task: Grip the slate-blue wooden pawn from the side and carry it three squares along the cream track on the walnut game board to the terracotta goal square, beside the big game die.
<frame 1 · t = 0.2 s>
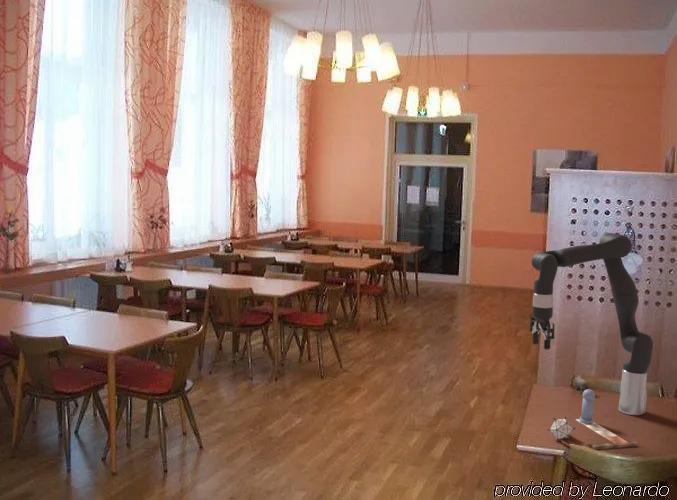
hand: (541, 346, 279), 28 cm above the table, tool pointing down, fingers open, 8 cm apart
rhino figurine: (579, 390, 320), on the table
game die: (560, 440, 261), on the table
game board: (593, 433, 268), on the table
pawn: (586, 421, 278), point 1 cm above the table, touching game board
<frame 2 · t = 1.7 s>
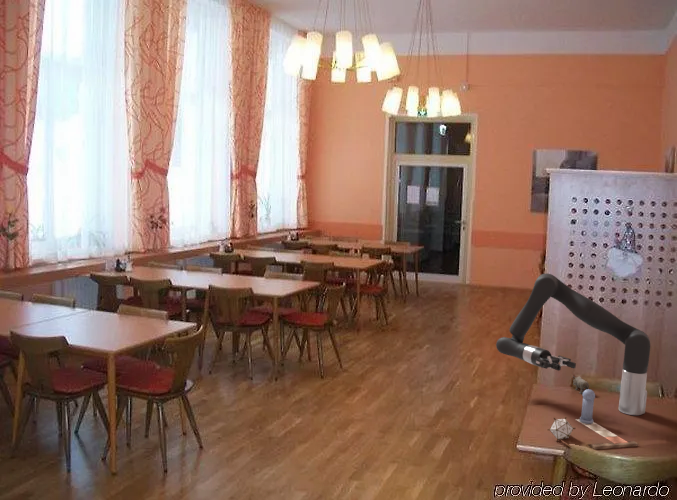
hand: (567, 367, 285), 20 cm above the table, tool horizontal, fingers open, 8 cm apart
nothing on the table moved.
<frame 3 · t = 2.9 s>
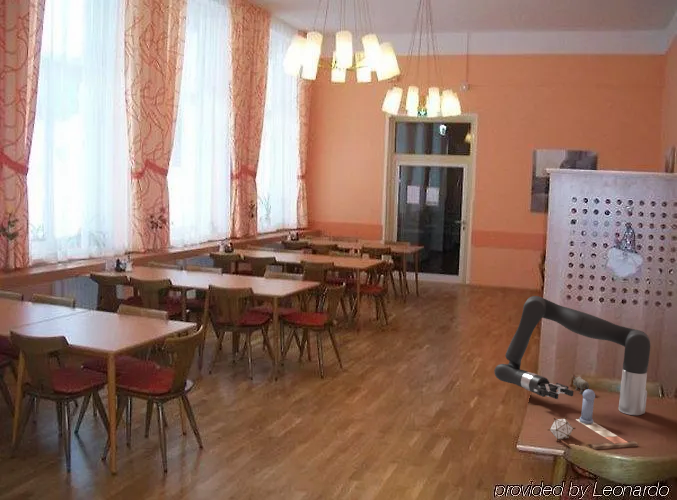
hand: (565, 395, 286), 8 cm above the table, tool horizontal, fingers open, 8 cm apart
nothing on the table moved.
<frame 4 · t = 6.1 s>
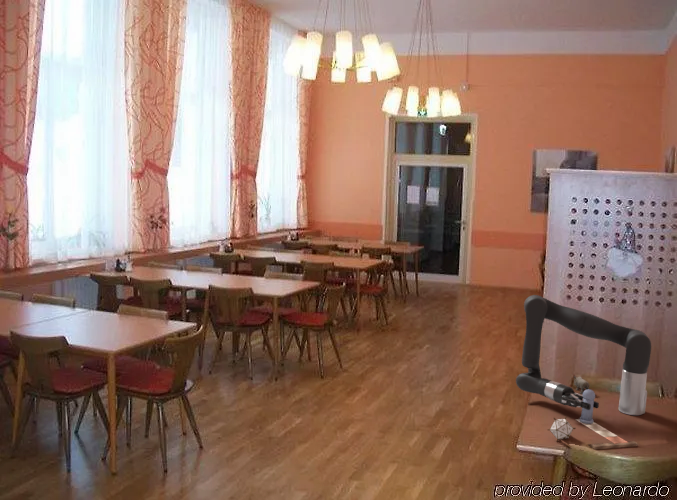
hand: (593, 406, 274), 8 cm above the table, tool horizontal, fingers closed on pawn, 4 cm apart
pawn: (586, 421, 278), point 1 cm above the table, touching game board, gripper
everything else where it was.
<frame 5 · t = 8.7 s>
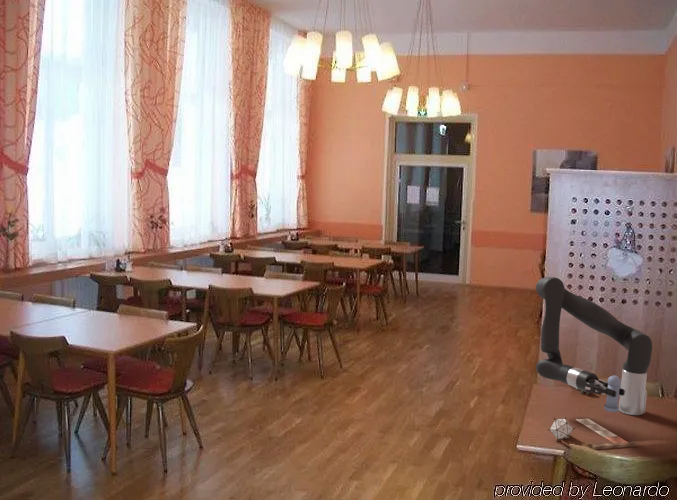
hand: (619, 393, 260), 18 cm above the table, tool horizontal, fingers closed on pawn, 4 cm apart
pawn: (611, 409, 263), point 11 cm above the table, touching gripper
everything else where it was.
when the fingers open (9 cm above the table, at t = 11.5 s): pawn drops 1 cm, resting on game board.
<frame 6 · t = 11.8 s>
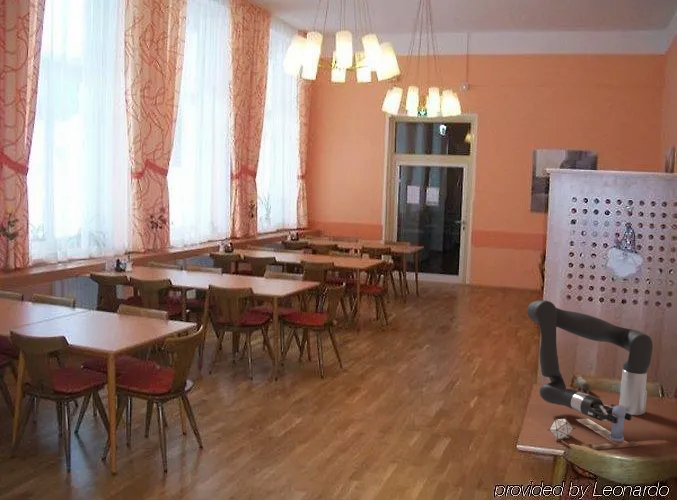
hand: (623, 419, 258), 10 cm above the table, tool horizontal, fingers open, 7 cm apart
pawn: (616, 439, 261), point 1 cm above the table, touching game board
everything else where it was.
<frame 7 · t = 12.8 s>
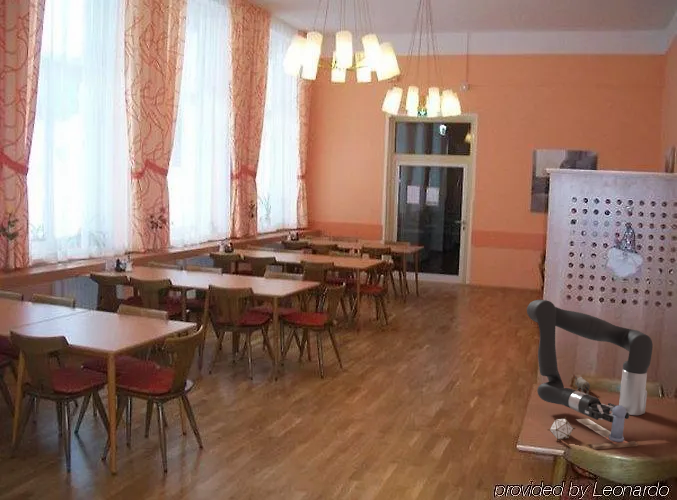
hand: (620, 417, 259), 10 cm above the table, tool horizontal, fingers open, 8 cm apart
nothing on the table moved.
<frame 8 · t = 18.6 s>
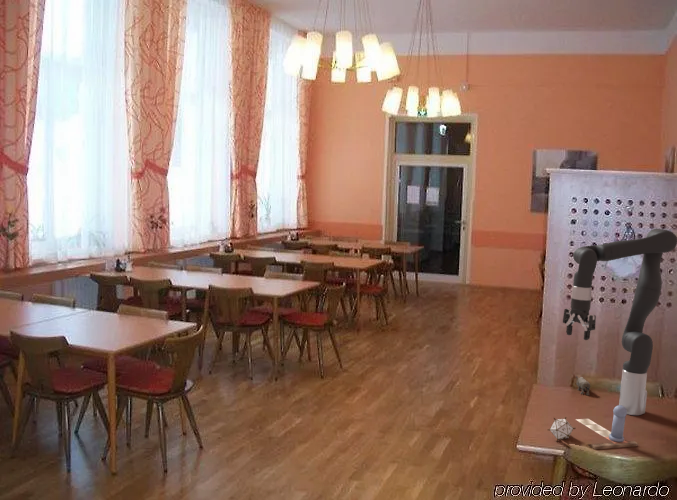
hand: (577, 337, 290), 30 cm above the table, tool pointing down, fingers open, 8 cm apart
nothing on the table moved.
at the end: pawn 0.1 cm from the target spot on the game board, point 1.2 cm above the game board's base; pawn tilted 2°; the gripper is holding nothing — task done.
